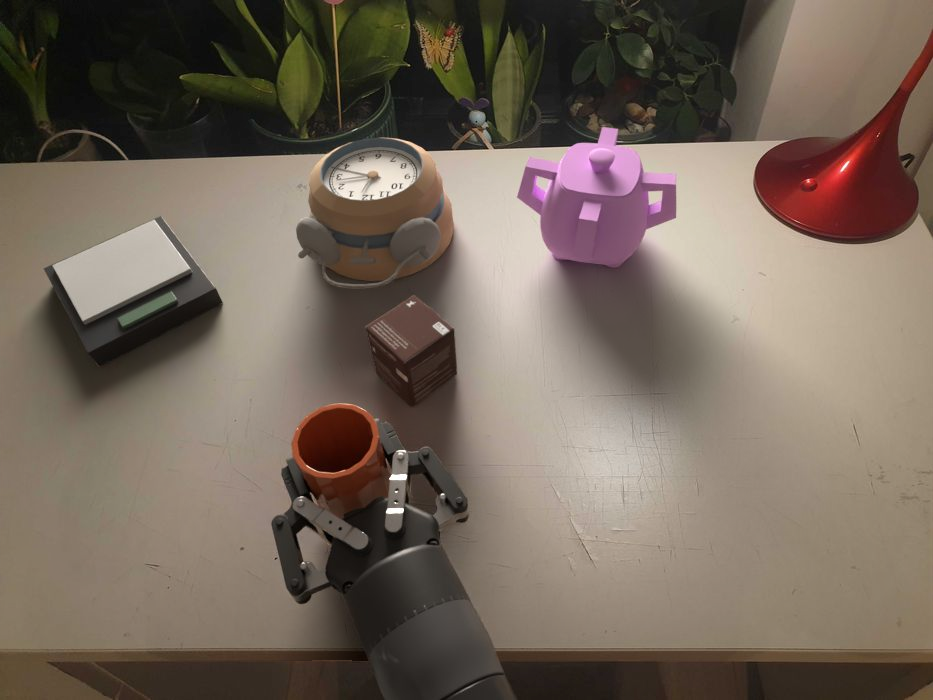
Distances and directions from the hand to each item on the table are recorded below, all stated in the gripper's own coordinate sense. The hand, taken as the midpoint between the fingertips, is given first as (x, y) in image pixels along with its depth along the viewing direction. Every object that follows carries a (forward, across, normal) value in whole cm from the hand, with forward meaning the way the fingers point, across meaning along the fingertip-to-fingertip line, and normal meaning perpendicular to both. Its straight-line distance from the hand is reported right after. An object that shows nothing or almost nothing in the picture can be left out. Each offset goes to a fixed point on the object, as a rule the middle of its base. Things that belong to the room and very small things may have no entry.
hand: (334, 443), depth 52 cm
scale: (+35, +12, +8) cm, 38 cm away
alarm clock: (+28, -15, +8) cm, 32 cm away
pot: (+16, -36, +8) cm, 41 cm away
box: (+8, -10, +8) cm, 16 cm away
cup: (-2, 0, +6) cm, 6 cm away
